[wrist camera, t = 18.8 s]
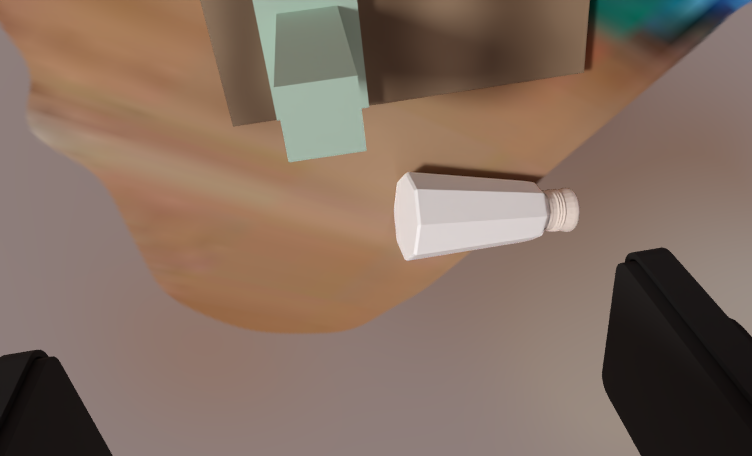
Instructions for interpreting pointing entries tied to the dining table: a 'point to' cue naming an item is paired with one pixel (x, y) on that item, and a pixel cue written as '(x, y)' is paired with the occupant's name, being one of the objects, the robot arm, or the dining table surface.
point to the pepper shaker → (475, 213)
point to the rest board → (415, 48)
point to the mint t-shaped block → (315, 74)
